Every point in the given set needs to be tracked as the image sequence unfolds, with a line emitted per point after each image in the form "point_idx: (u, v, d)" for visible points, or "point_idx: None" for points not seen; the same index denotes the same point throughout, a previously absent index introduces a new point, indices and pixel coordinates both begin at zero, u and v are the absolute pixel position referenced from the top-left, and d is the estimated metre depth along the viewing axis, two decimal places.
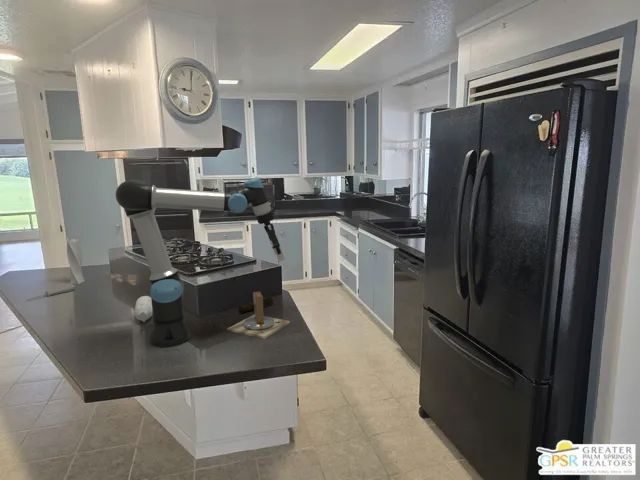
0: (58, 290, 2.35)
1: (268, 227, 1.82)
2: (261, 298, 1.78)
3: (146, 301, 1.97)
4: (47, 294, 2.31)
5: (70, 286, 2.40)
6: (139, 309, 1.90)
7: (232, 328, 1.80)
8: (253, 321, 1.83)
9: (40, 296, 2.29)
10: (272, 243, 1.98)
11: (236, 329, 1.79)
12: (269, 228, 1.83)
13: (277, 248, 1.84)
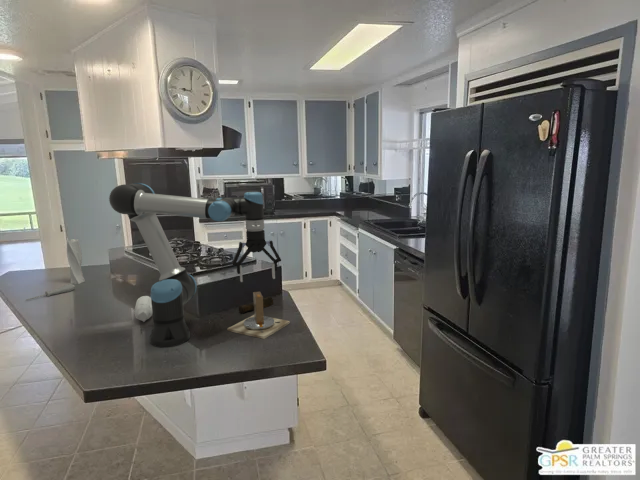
0: (58, 290, 2.35)
1: (239, 243, 1.76)
2: (261, 298, 1.78)
3: (146, 301, 1.97)
4: (47, 294, 2.31)
5: (70, 286, 2.40)
6: (139, 309, 1.90)
7: (232, 328, 1.80)
8: (253, 321, 1.83)
9: (40, 296, 2.29)
10: None
11: (236, 329, 1.79)
12: (239, 245, 1.76)
13: None
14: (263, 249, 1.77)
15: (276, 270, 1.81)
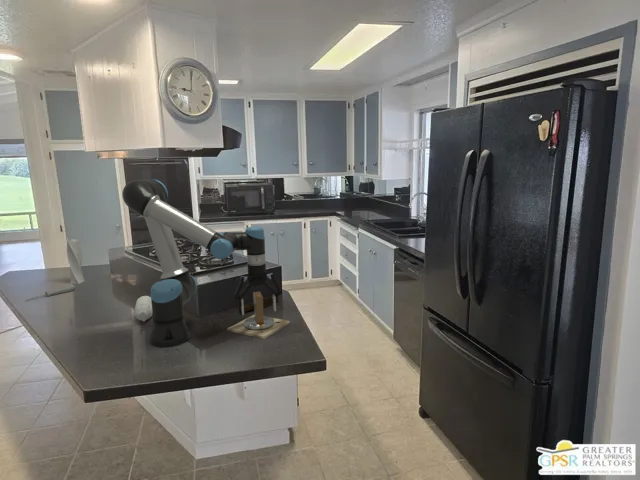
0: (58, 290, 2.35)
1: None
2: (261, 298, 1.78)
3: (146, 301, 1.97)
4: (47, 294, 2.31)
5: (70, 286, 2.39)
6: (139, 309, 1.90)
7: (232, 328, 1.80)
8: (253, 321, 1.83)
9: (40, 296, 2.29)
10: None
11: (236, 329, 1.79)
12: (240, 279, 1.78)
13: (238, 300, 1.79)
14: (264, 283, 1.80)
15: (277, 302, 1.84)
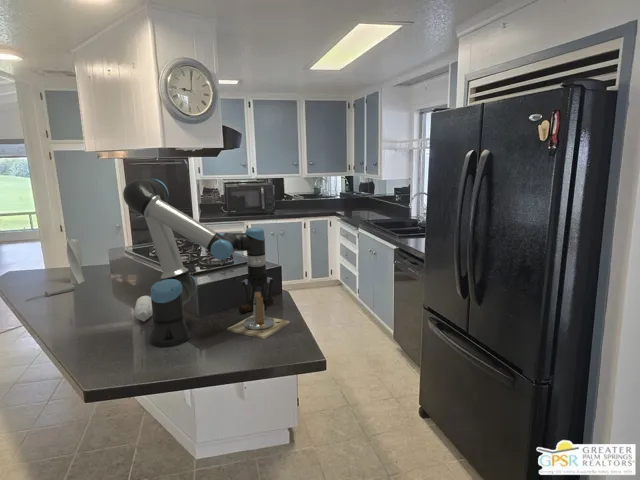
0: (58, 290, 2.35)
1: None
2: (261, 298, 1.78)
3: (146, 301, 1.97)
4: (46, 294, 2.31)
5: (70, 286, 2.39)
6: (139, 309, 1.90)
7: (232, 328, 1.80)
8: (253, 321, 1.83)
9: (39, 296, 2.29)
10: None
11: (236, 329, 1.79)
12: None
13: (250, 305, 1.81)
14: (261, 285, 1.79)
15: None
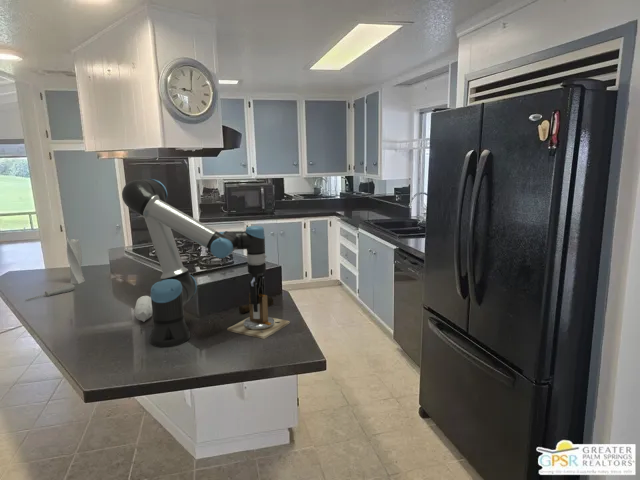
0: (58, 290, 2.35)
1: (250, 283, 1.74)
2: (266, 297, 1.80)
3: (146, 301, 1.97)
4: (46, 294, 2.31)
5: (70, 286, 2.39)
6: (139, 309, 1.90)
7: (232, 328, 1.80)
8: (254, 322, 1.82)
9: (39, 296, 2.29)
10: None
11: (236, 329, 1.79)
12: (251, 285, 1.74)
13: (254, 305, 1.78)
14: (262, 282, 1.82)
15: None
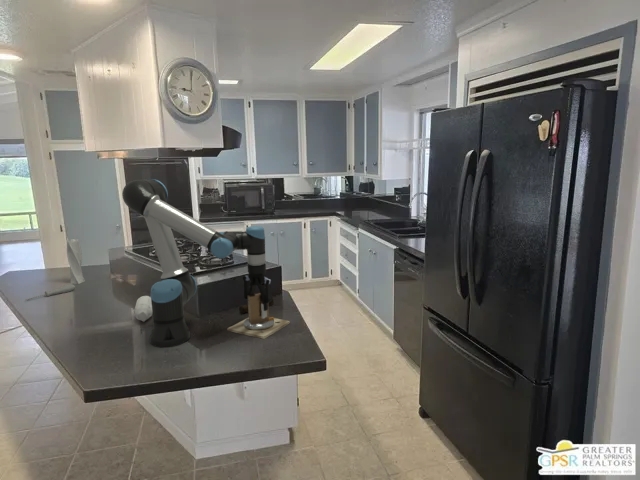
0: (57, 290, 2.35)
1: (269, 282, 1.76)
2: None
3: (146, 301, 1.97)
4: (46, 294, 2.31)
5: (70, 286, 2.39)
6: (139, 309, 1.90)
7: (232, 328, 1.80)
8: (259, 323, 1.81)
9: (39, 296, 2.29)
10: None
11: (236, 329, 1.79)
12: (269, 283, 1.77)
13: (266, 304, 1.80)
14: None
15: None
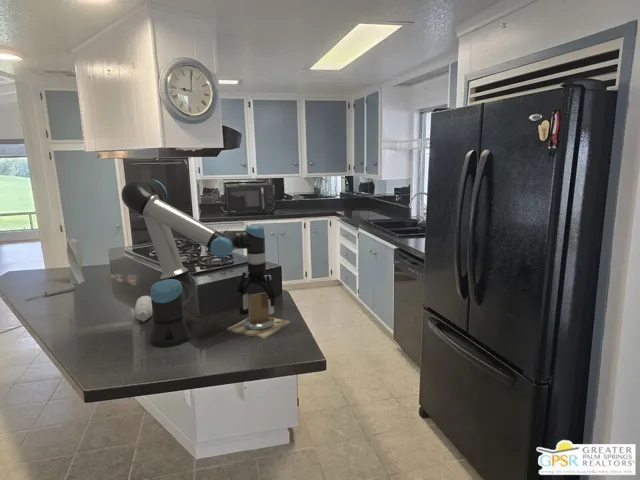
0: (57, 290, 2.35)
1: (269, 277, 1.76)
2: None
3: (146, 301, 1.97)
4: (46, 294, 2.31)
5: (70, 286, 2.39)
6: (139, 309, 1.90)
7: (232, 328, 1.80)
8: (259, 323, 1.81)
9: (39, 296, 2.29)
10: (245, 297, 1.84)
11: (236, 329, 1.79)
12: (270, 278, 1.76)
13: (273, 300, 1.78)
14: None
15: None
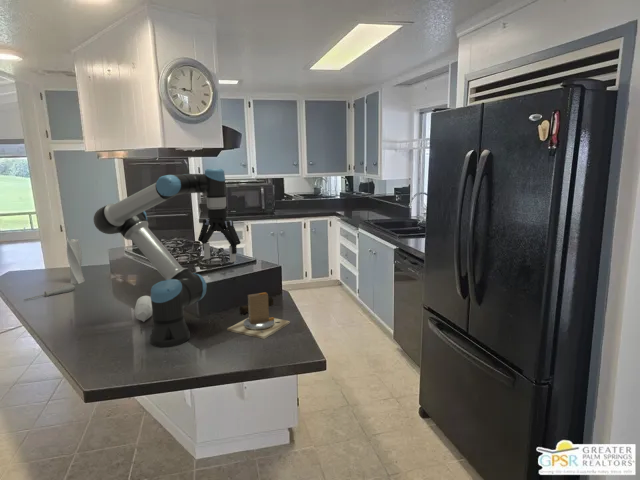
0: (57, 290, 2.34)
1: (230, 222, 1.67)
2: None
3: (146, 301, 1.97)
4: (45, 294, 2.31)
5: (69, 286, 2.39)
6: (139, 309, 1.90)
7: (232, 328, 1.80)
8: (259, 323, 1.81)
9: (38, 296, 2.29)
10: (206, 245, 1.75)
11: (236, 329, 1.79)
12: (230, 224, 1.68)
13: (235, 247, 1.69)
14: None
15: None
